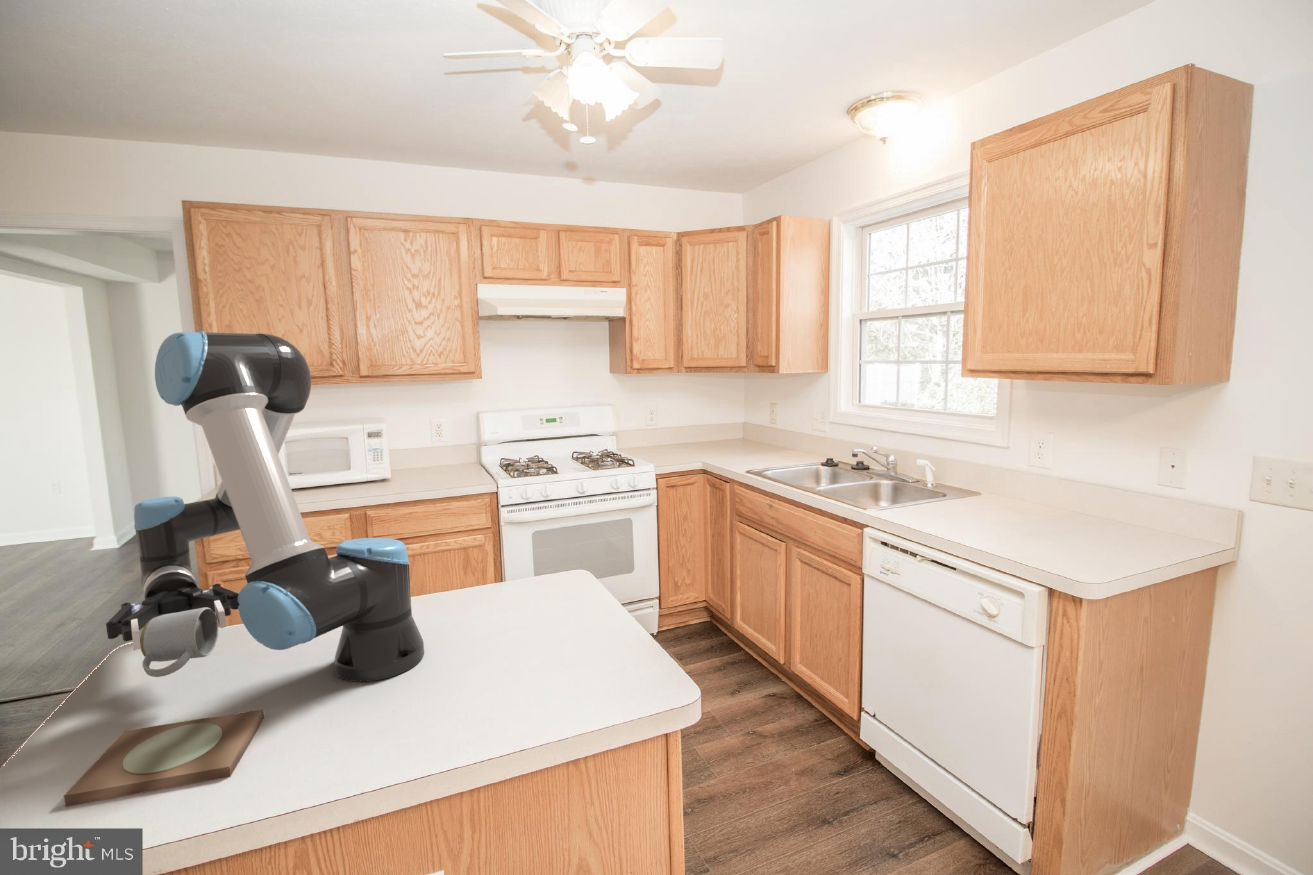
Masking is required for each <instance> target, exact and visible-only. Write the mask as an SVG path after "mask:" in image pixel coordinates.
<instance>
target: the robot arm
mask: <svg viewBox="0 0 1313 875" xmlns="http://www.w3.org/2000/svg"><path fill="white" fill-rule="evenodd" d="M155 359H156V360H155V364H154V381H155V386H156V390H157V393H158V396H159V397H160V398H161V399H162V400H163V401H164V403H166V404H168V405H173V406H175V407H176V406H177V407H178V406H181V407H182V410H183V412H184V415H185V418H186V420H188V421H190V422H192V423H194V424H196V425H198V426H201V428H202V431H203V433H204V436H205V439H206V442H207V444H208V446H209V450H210V452H211V454H212V457H213V460H214V463H215V466H216V468H217V470H218V471H217V472H218V475H219V476H220V479H221V482H220V484H219V487H218V490H217V493H216V495H215V497H214V498H210V499H206V500H199V501H194V502H190V503H189V502H188V503H185V502H184V500H183V498H182V497H180V496H163V497H162V496H161V497H154V498H149V499H145V500H141V501H139V502H138V503H137V504H135V506H134V509H133V510H134V513H133V518H134V519H133V520H134V525H133V526H134V529H135V535H136V541H137V547H138V548H137V549H138V553H139V566H140V577H141V578H140V579H141V584H142V586H143V596H144V600H143V601H142V602H141V603H139V604H136V603H131V602H123V603H122V604H120V609H119V610H118V611H117V612H116V613H115V614H114V615H113V616H112V617H111V618H110V619H109V620H108V621H107V622H106V623H105V627H106V634H107V635H106V636H107V639H108V640H113V639H116V638H118V637H119V636H120V635H122V636H121V637H122V640H123V642H129V641H132V645H133V651H136V650H141V646H140V637H141V634H140V630H143V628H144V626H145V625H146V624H147V622H148V621H150V620H151V619H153V618H155V617H158V616H161V615H165V614H170V613H177V612H182V611H188V610H193V609H199V608H204V607H208V608H210V609H212V610H213V612H214V613H215V615H216V618H217V622H218V626H219V628H220V629H223V628H227V621H226V620H227V619H226V617H229V616H231V615H232V610H238V613H239V617H240V619H241V621H242V624H243V626H244V627H245V629H246V631H247V632H248V633H249V635H251V636H252V638H253V639H254V640H255V641H257V642H258V643H259V644H261V645H263V646H264V647H265V648H268V649H269V650H274V651H282V650H283V651H284V650H288V649H291V648H294V647H296V646H298V645H299V646H300V645H303V644H306V643H309V642H311V641H312V640H314V639H316V638H319V637H320V636H322V635H324V634H327V633H329V632H331V631H334V630H336V629H338V628H340V627H342V630H341V634H340V638H339V641H338V645H337V648H336V652H335V655H334V671H335V673H336V674H335V675H336V676H337V677H338V678H341V679H342V680H345V681H350V682H360V683H361V682H362V683H364V682H374V681H379V680H385V679H388V678H391V677H394V676H395V677H396V676H397V675H400V674H403V673H404V672H407V671H408V670H410V669H412V668H414V667H415V666H417V665H418V664H419V663H420V662H421V661H422V660H423V658H424V656H425V645H424V644H425V643H424V638H423V637H422V635H421V632H420V630H419V628H418V626H417V624H416V622H415V620H414V616H413V613H412V612H413V611H412V598H411V582H410V561H409V556H408V549H407V546H406V544H405V543H404V541H403V542H402V541H401V540H398V539H395V538H388V537H386V538H385V537H363V538H355V539H354V538H353V539H349V540H344V541H341V542H339V543H338V544H337V545H336V547H335V548H336V549H335V553H336V555H335V556H332V557H329V556H328V554H327V551H326V548H325V546H324V545H321V544H319V543H316V542H313V540H311V538H310V535H309V532H308V530H307V527H306V524H305V521H304V519H303V516H302V514H301V511H300V509H299V506H298V504H297V501H296V498H295V495H294V494H293V490H292V487H291V485H290V482H289V480H288V477H287V475H286V472H285V469H284V467H283V466H284V465H283V464H282V461H281V459H280V456H279V453H280V451H281V449H282V447H283V445H284V442H285V440H286V437H287V434H288V433H289V430H290V428H291V425H292V422H293V421H294V418H295V417H296V416H295V415H296V414H300V413H301V412H303V410H304V409H305V407H306V405H307V403H308V400H309V397H310V395H311V394H310V393H311V390H312V388H311V387H312V378H311V377H312V376H311V375H312V374H311V371H310V367H309V365H308V362H307V360H306V359H305V357H304V355H303V353H301V351H300V350H299V348H297V347H296V346H295V345H293V344H292V343H291V342H290V341H288V340H287V339H284V338H283V337H280V336H277V335H273V334H269V333H238V332H237V333H236V332H234V333H233V332H211V331H210V332H207V331H204V330H198V331H192V332H191V331H190V332H189V331H186V332H185V331H181V332H180V331H178V332H175V333H172V334H170V335H168V336H167V337H166V338H165V339H164V340H163V341H162V343H161V345H160V346H159V349H158V352H157V354H156V358H155ZM239 530H240V533H241V536H242V538H243V541H244V544H245V546H246V547H245V548H246V550H247V552H248V554H249V556H250V559H251V563H250V565H249V566H248V569H247V570H246V572H245V574H244V578H245V580H246V584H245V585H244V586H243V587H242V588H241V590H240V591H239V593H238V592H235V591H234V590H233V591H232V590H230V589H228V588H225V587H224V586H223V587H222V585H221V583H214V584H212V585H211V587H209V588H208V589H206V590H203V589H202V588H199V587H198V585H197V582H196V578H195V577H194V574H193V572H192V571H193V570H192V563H191V554H190V542H195V541H197V540H202V539H206V538H210V537H214V536H219V535H222V534H223V535H224V534H226V533H232V532H237V531H239Z"/></svg>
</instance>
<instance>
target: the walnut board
mask: <svg viewBox="0 0 1313 875" xmlns="http://www.w3.org/2000/svg"><path fill="white" fill-rule="evenodd" d="M264 720H265V709H257V710H249V711H243V712H236V713H230V714H224V715H217V716H211V717H206V718H197V719H192V720H185V721H180V722H179V721H177V722H172V723H165V724H160V725H153V726H146V727H141V728H131V729H125V730H124V731H123V732H122V733H121V734H120V735H119V736H118V737H117V738H116V739H115V741H114V742H113V743H112V744H111V745H110V746H108V748H107V749H106V750H105V751H104V752H103V753H102V754H101V755H100V757H98V759H97V760H96V761H95V762H94V763H93V764H92V765H91V766H90V767H89V768H88V770H86V772H84V774H83V775H82V776H81V777H80V778H79V779H78V780H77V781H76V782H75V783H74V784H73V785H72V786H71V787H70V789H69V790H68V791H67V792H65V793H64V795H63V798H64V806H65V807H70V806H75V805H80V804H81V805H82V804H87V803H92V802H98V801H102V800H110V799H114V798H119V797H125V796H130V795H135V794H136V795H137V794H141V793H142V794H143V793H146V792H147V793H148V792H152V791H153V792H154V791H158V790H159V791H160V790H164V789H168V788H176V787H180V786H185V785H192V784H196V783H197V784H198V783H202V782H208V781H213V780H219V779H220V780H221V779H225V778H226V779H227V778H230V777H231V776H232V775H233V773H234V771H235V770H236V768H237V766H238V764H239V763H240V761H241V759H242V757H243V756H244V755H245V752H246V751H247V750H248V747H249V746H250V744H251V742H252V740H253V738H254V737H255V735H256V734H257V732H258V730H259V728H260V727H261V725H262V723H263V722H264Z"/></svg>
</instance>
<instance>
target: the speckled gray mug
mask: <svg viewBox="0 0 1313 875" xmlns="http://www.w3.org/2000/svg"><path fill="white" fill-rule="evenodd" d="M141 630H142V631H141V634H140V646H141V649H140V651H141V653H142V655H143V657H144V658H143V661H142V668H143V670H144V672H145V674H146V675H148V676H149V677H153V678H161V677H166V676H169V675H171V674H173V673H175V672H177V671H179V670H180V669H181V668H183V667H184V666H185V665H186V664H187V663H188V662H189V660H190V659H198V658H205V657H208V656H209V655H211V653H213V651H214V649H215V647H216V645H217V643H218V642H217V641H218V639H219V637H218V636H219V623H218V620H217V618H216V614H215V612H213V610H212V609H210V608H208V607H204V608H199V609H193V610H188V611H182V612H177V613H170V614H165V615H161V616H158V617H155V618H153V619H151V620H150V621H148V622H147V624H146V625H145V626H144V627H143V628H142V629H141ZM171 661H174V662H172V663H171V664H168V665H167V666H165V667H163V668H157V669H154V668H150V666H151V663H152V662H155V663H156V662H159V663H161V662H162V663H163V662H171Z"/></svg>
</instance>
